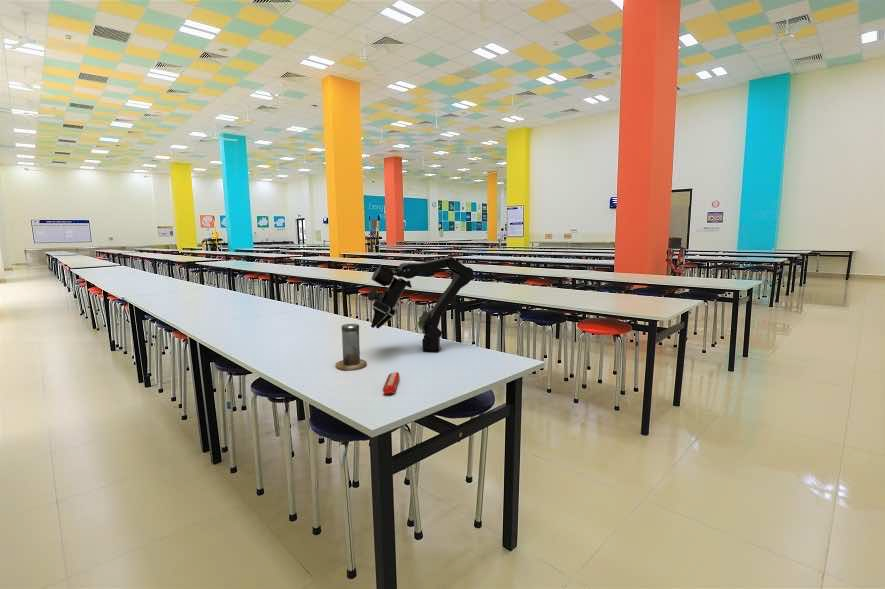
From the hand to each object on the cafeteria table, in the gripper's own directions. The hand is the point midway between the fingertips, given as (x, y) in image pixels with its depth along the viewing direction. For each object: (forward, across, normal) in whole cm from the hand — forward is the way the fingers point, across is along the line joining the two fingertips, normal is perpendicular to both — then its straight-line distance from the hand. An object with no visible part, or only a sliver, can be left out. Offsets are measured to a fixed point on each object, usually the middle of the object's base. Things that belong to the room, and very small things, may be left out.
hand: (374, 327), depth 165 cm
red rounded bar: (+12, +28, +20) cm, 36 cm away
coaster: (+16, +8, +1) cm, 18 cm away
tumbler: (+14, +9, +1) cm, 17 cm away
